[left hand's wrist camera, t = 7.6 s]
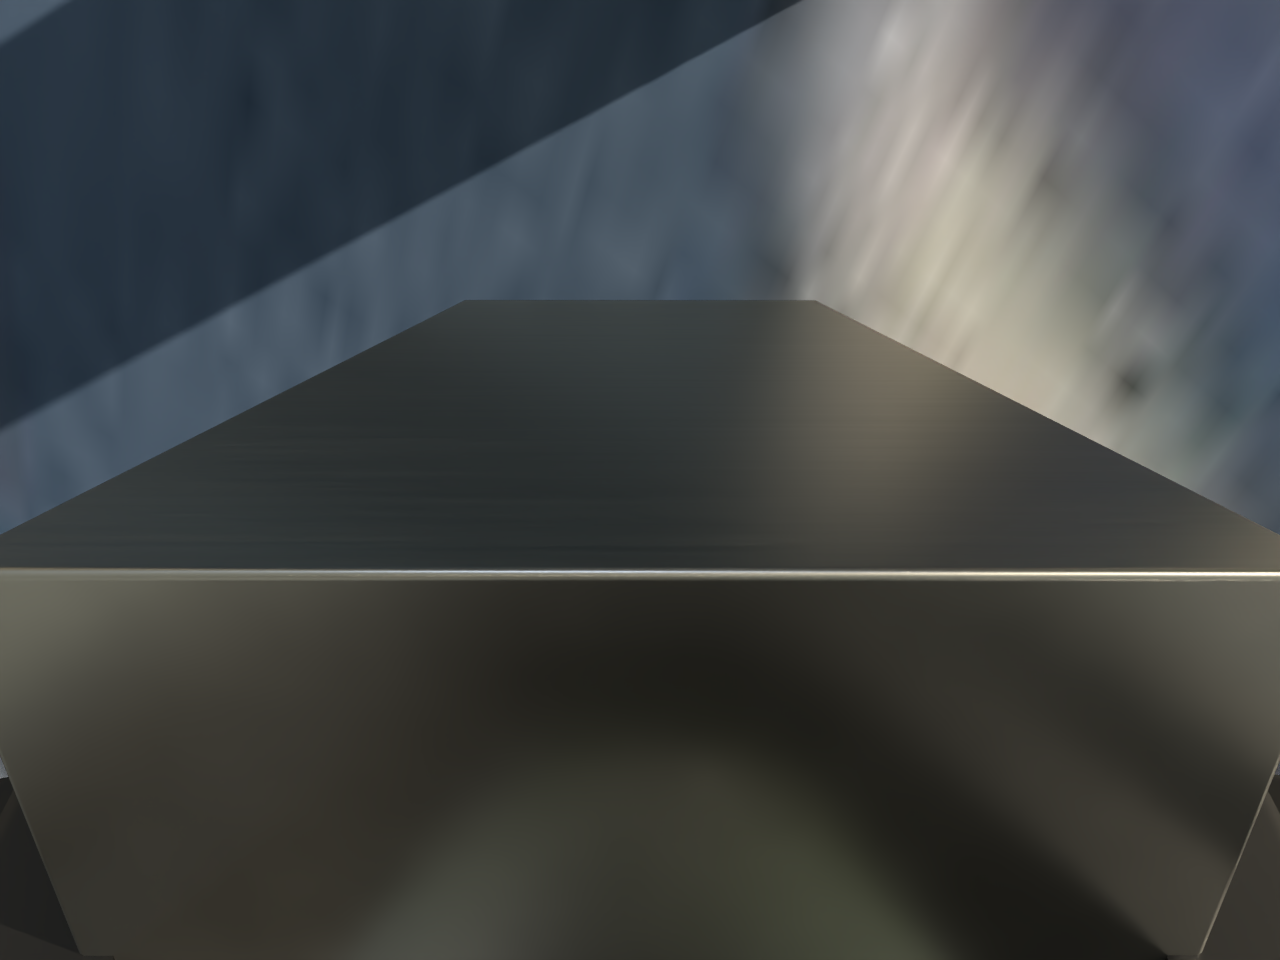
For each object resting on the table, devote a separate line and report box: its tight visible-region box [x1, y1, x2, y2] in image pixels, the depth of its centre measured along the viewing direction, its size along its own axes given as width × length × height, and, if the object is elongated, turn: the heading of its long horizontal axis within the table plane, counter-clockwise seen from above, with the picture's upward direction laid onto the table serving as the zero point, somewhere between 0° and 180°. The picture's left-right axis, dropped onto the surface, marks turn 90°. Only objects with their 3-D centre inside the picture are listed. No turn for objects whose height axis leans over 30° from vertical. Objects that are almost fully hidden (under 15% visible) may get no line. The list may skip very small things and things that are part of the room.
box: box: [0, 300, 1280, 960], centre depth 14 cm, size 22×8×13 cm, turn 0°
